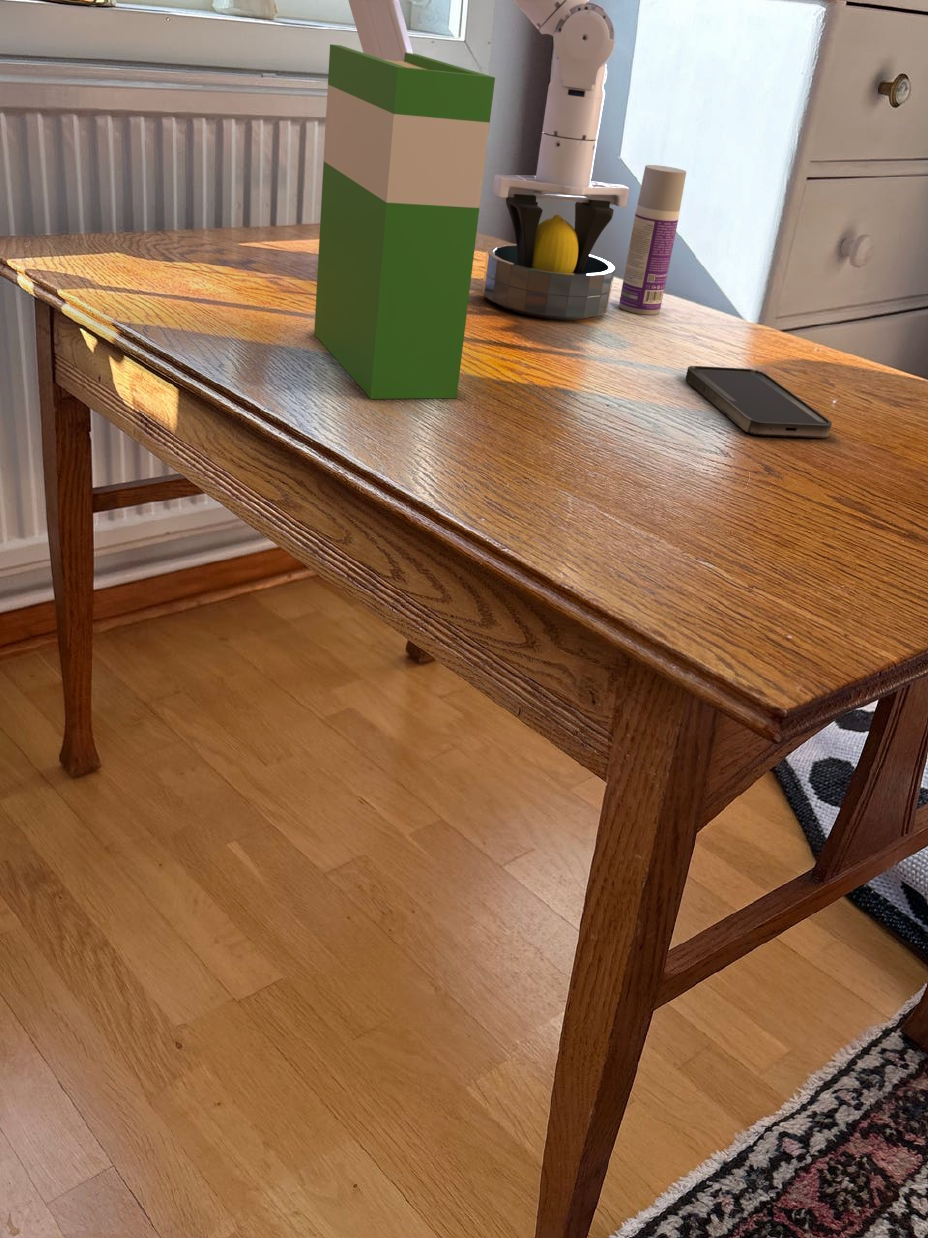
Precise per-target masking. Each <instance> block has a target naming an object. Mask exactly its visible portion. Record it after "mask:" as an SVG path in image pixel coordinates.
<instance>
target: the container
mask: <svg viewBox="0 0 928 1238" xmlns="http://www.w3.org/2000/svg"><path fill="white" fill-rule="evenodd" d="M686 177H687V170H684V169H681V168H677V167H672V166H666V165H659V164H658V165H657V164H647V165H645V166H644V171H643V175H642V179H641V185H640V190H639V195H638V200H637V205H636V209H635V214H634V219H633V226H632V230H631V236H630V242H629V246H628V253H627V258H626V263H625V269H624V274H623V280H622V285H621V291H620V297H619V303H618V307H619V308H620V309H621V310H624V311H625V312H629V313H632V314H637V315H645V316H646V315H658V314H659V313H660V311H661V308H662V303H663V302H662V301H663V298H664V293H665V287H666V282H667V279H668V273H669V268H670V263H671V257H672V252H673V248H674V244H675V243H674V242H675V238H676V233H677V228H678V223H679V216H680V210H681V206H682V200H683V194H684V189H685V184H686Z"/></svg>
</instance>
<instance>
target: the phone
mask: <svg viewBox="0 0 928 1238" xmlns="http://www.w3.org/2000/svg"><path fill="white" fill-rule="evenodd" d="M684 380H685V381H686V382H687V383H688V384H689V385H690V386H691V387H693V388H694V389H695V390H697V391H698V393H700V394H701V395H702V396H703V397H704V398H705V399H707V400H708V401H709V402H710V403H711V404H713V405H714V406H715V407H716V408H717V409H718V410H720V411H721V412H722V413H723V414H724V415H725V416H726V417H728V418H729V419H730V420H731V421H732V422H733V423H735V424H736V425H737V426H738V427H739V428H740V429H742V430H743V431H744V432H746V433H748V434H751V435H756V436H762V437H763V436H764V437H787V438H788V437H789V438H812V439H813V438H814V439H825V438H828V437H829V435H830V432H831V429H832V425H833V423H832V421H831V420H829V419H828V418H827V417H825V416H824V415H823V414H821V413H820V412H819V411H817V410H816V409H814V408H813V407H812V406H811V405H809V404H808V403H806V402H805V401H803V400H802V399H801V398H800V397H798V396H797V395H796V394H795V393H793V392H792V391H790V390H789V389H787V388H786V387H784V386H783V385H782V384H780V383H779V382H778V381H776V380H775V379H774V378H772V377H771V376H769V375H768V374H766V372H763V371H761V370H759V369H753V368H743V367H742V368H739V367H726V366H725V367H724V366H722V367H721V366H706V365H705V366H703V365H690V366H688V367H687V371H686V375H685V379H684Z"/></svg>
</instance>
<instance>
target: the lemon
mask: <svg viewBox="0 0 928 1238" xmlns="http://www.w3.org/2000/svg"><path fill="white" fill-rule="evenodd" d="M577 258H578V238H577V234H576V232H575V227H573V226H572V225H571V224H570V223H569V222H568V221H567V220H565V219H564V218H563V216H562V215H560V214H554V215H553V217H550V218H547V219H545V220H543V221H541V222H539V224H538V228H537V232H536V236H535V241H534V249H533V258H532V264H531V268H534V269H540V270H545V271H552V272H562V273H573V271H574V269H575V266H576V263H577Z"/></svg>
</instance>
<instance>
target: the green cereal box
mask: <svg viewBox="0 0 928 1238" xmlns="http://www.w3.org/2000/svg"><path fill="white" fill-rule="evenodd" d="M328 55H329V56H328V57H329V58H328V72H327V73H328V74H327V90H326V91H327V94H326V109H325V110H326V113H325V128H324V129H325V130H324V146H323V147H324V148H323V165H322V166H323V167H322V184H321V185H322V186H321V203H320V206H321V207H320V221H319V238H318V239H319V240H318V242H319V243H318V257H317V258H318V259H317V261H318V262H317V274H316V275H317V277H316V294H315V310H314V311H315V313H314V327H313V328H314V330H313V334H314V336H315V337H316V338H317V339H318V340H319V342H321V344H322V345H323V346H324V347H325V348H326V349H327V351H328V352H329V353H330V354H331V355H332V356H333V358H335V360H336V361H337V362H338V363H339V364H340V366H341V367H342V368H343V369H344V370H345V371H346V373H347V374H348V375H349V376H350V377H351V378H352V380H354V382H355V383H356V384H357V385H358V386H359V388H360V389H362V391H363V392H364V393H365V394H366V395H367V397H368V398H369V399H370V400H391V399H393V400H399V399H405V400H406V399H408V400H409V399H458V391H459V382H460V373H461V365H462V358H463V357H462V356H463V349H464V341H465V340H464V339H465V332H466V324H467V316H468V315H467V314H468V305H469V298H470V291H471V284H472V283H471V282H472V274H473V273H472V272H473V267H474V266H473V264H474V258H475V257H474V256H475V248H476V241H477V232H478V224H479V214H480V208H481V207H480V206H481V200H482V199H481V198H482V189H483V183H484V175H485V165H486V159H487V158H486V156H487V150H488V149H487V148H488V141H489V132H490V125H491V117H492V109H493V107H492V106H493V99H494V91H495V82H496V77H494V76H492V75H488V74H485V73H481V72H479V71H474V70H472V69H468V68H465V67H461V66H458V65H455V64H452V63H447V62H444V61H441V60H437V59H435V58H431V57H428V56H424V55H422V54H421V55H420V54H418V53H414V52H413V53H405V56H404V62H402V61H393V60H384V59H380V58H377V57H374V56H371V55H368V54H365V53H363V51H362V52H361V51H360V50H356V49H352V48H350V47H346V46H344V45H341V44H331V43H330V44H329V53H328Z"/></svg>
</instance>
